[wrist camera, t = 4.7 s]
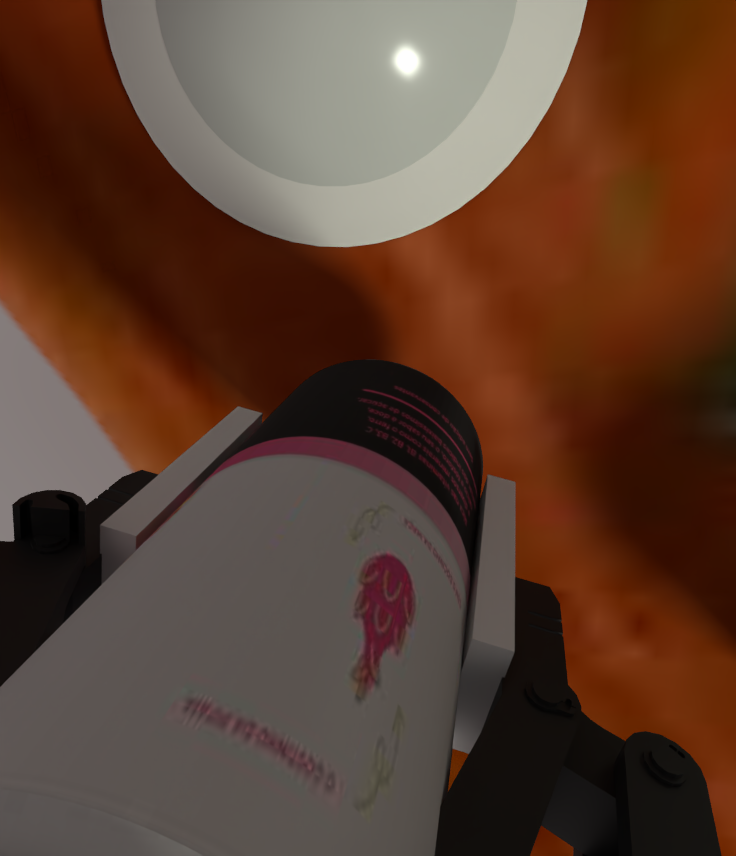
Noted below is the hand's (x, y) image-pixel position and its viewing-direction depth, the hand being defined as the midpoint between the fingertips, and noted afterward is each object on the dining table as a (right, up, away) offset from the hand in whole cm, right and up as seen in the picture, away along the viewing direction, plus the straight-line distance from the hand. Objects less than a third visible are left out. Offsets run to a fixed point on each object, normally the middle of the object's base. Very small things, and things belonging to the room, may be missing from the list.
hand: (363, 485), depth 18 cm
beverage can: (+1, +1, +2) cm, 2 cm away
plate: (-1, +14, 0) cm, 14 cm away
